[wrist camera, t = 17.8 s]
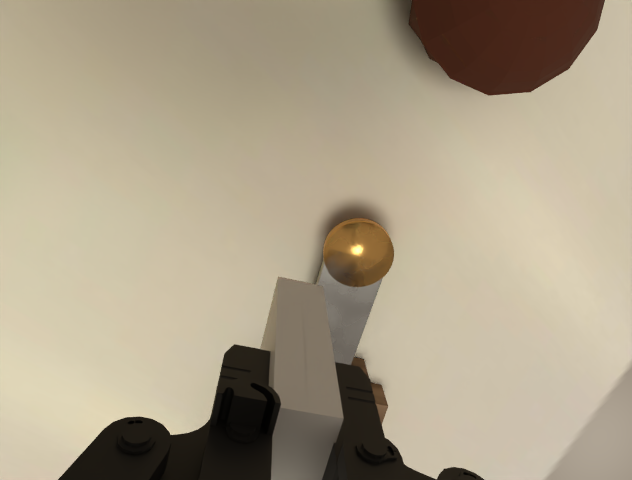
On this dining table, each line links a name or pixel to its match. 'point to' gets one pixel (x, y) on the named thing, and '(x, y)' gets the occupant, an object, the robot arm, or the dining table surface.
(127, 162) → the dining table surface
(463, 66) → the muffin
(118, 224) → the dining table surface
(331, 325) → the bar
